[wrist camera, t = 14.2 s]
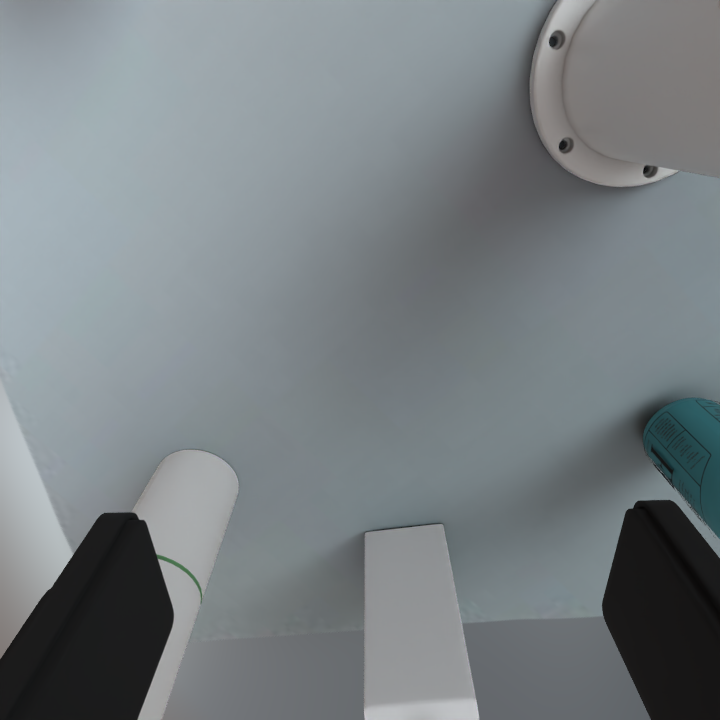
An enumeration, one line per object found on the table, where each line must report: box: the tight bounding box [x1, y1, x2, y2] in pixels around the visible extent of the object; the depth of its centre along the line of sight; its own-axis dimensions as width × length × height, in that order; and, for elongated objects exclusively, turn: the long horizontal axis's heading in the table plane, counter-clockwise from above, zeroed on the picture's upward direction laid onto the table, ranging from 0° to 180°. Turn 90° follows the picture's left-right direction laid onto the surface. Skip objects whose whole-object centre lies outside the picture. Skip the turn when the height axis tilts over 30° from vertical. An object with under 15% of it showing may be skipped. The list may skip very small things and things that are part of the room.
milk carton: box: [364, 524, 479, 720], centre depth 38 cm, size 7×7×19 cm
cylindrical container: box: [131, 449, 239, 720], centre depth 31 cm, size 7×7×25 cm
